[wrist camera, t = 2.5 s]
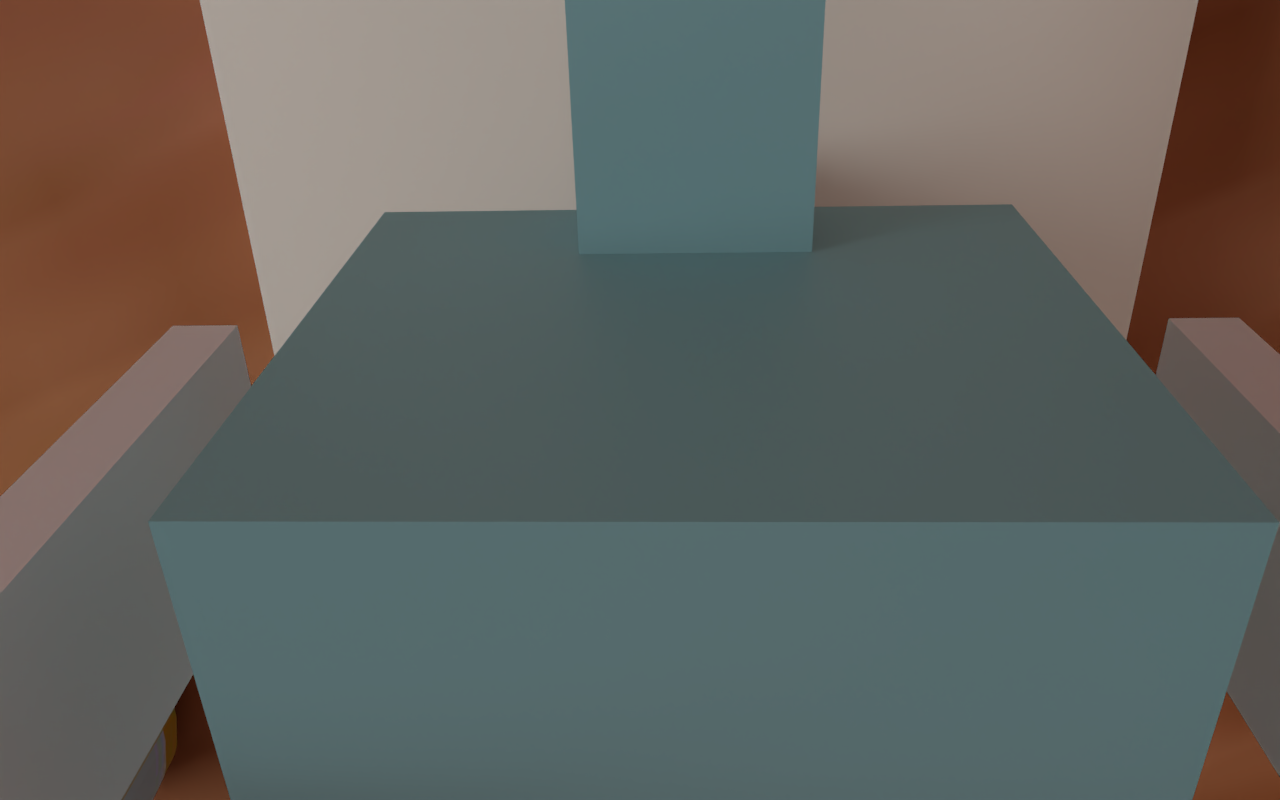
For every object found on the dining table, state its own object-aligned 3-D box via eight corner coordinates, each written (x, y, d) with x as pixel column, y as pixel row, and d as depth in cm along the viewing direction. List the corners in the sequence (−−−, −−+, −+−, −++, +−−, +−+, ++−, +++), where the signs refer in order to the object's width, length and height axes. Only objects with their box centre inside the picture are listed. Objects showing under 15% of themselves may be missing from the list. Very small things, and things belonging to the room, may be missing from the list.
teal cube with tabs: (499, 1002, 16) (427, 1461, 12) (248, -727, 7) (-502, -1659, 3) (894, 1011, 16) (976, 1483, 12) (1153, -777, 7) (2038, -1904, 2)
